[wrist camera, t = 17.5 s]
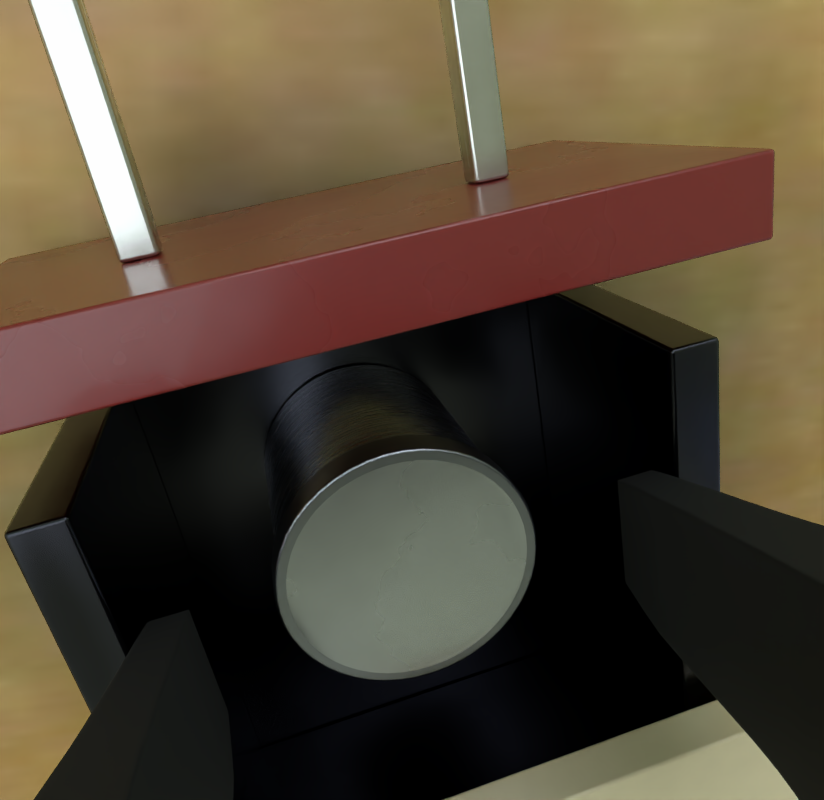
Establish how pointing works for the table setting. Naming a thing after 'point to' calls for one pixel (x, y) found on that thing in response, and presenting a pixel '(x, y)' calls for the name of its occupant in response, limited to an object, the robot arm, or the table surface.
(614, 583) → the drawer
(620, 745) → the cabinet
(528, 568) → the tin
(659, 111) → the table surface
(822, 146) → the table surface
